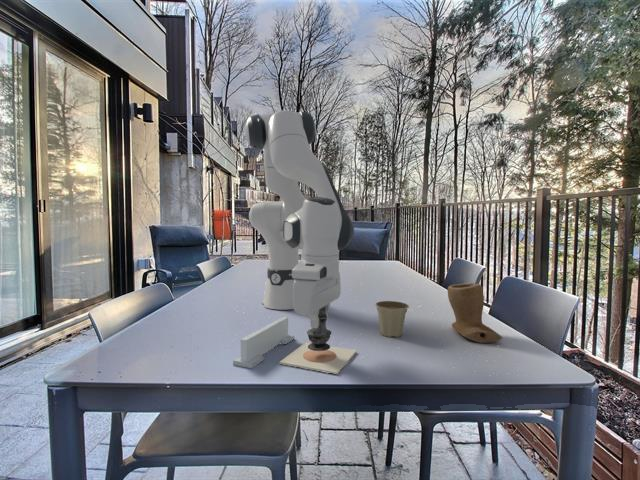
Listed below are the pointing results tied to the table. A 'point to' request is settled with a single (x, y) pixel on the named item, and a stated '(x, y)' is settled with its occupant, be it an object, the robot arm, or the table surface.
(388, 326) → the flower pot
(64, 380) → the table surface
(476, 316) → the brown boot
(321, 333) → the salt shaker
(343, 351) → the mat
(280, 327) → the acrylic wall
